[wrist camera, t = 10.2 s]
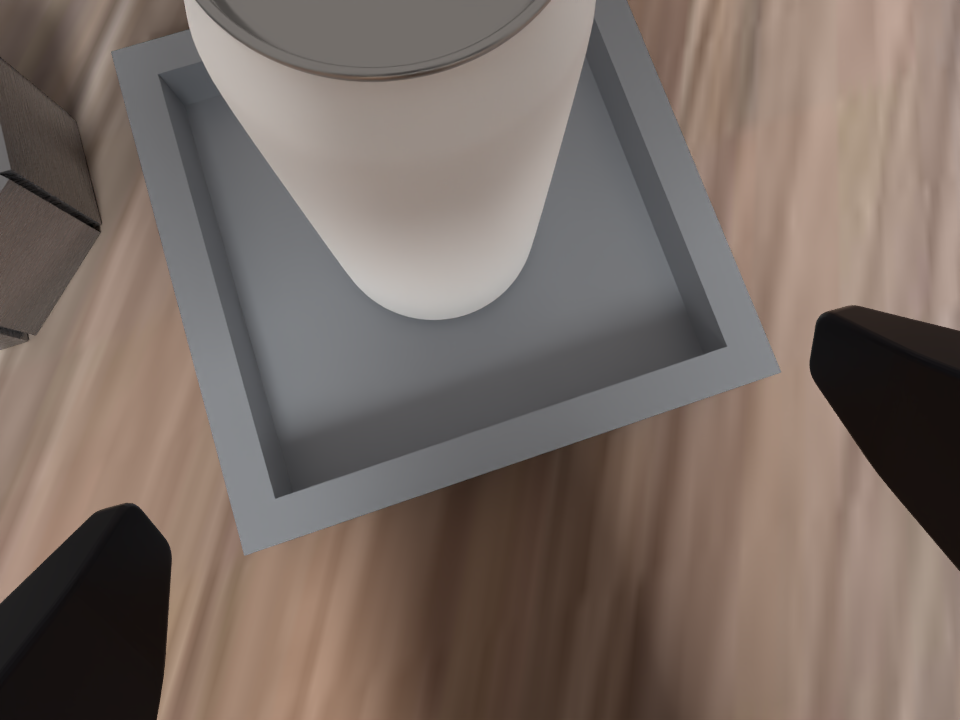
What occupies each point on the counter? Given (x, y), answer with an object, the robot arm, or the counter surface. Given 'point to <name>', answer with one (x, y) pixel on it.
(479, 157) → the can
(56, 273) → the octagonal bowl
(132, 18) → the counter surface
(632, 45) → the tray
